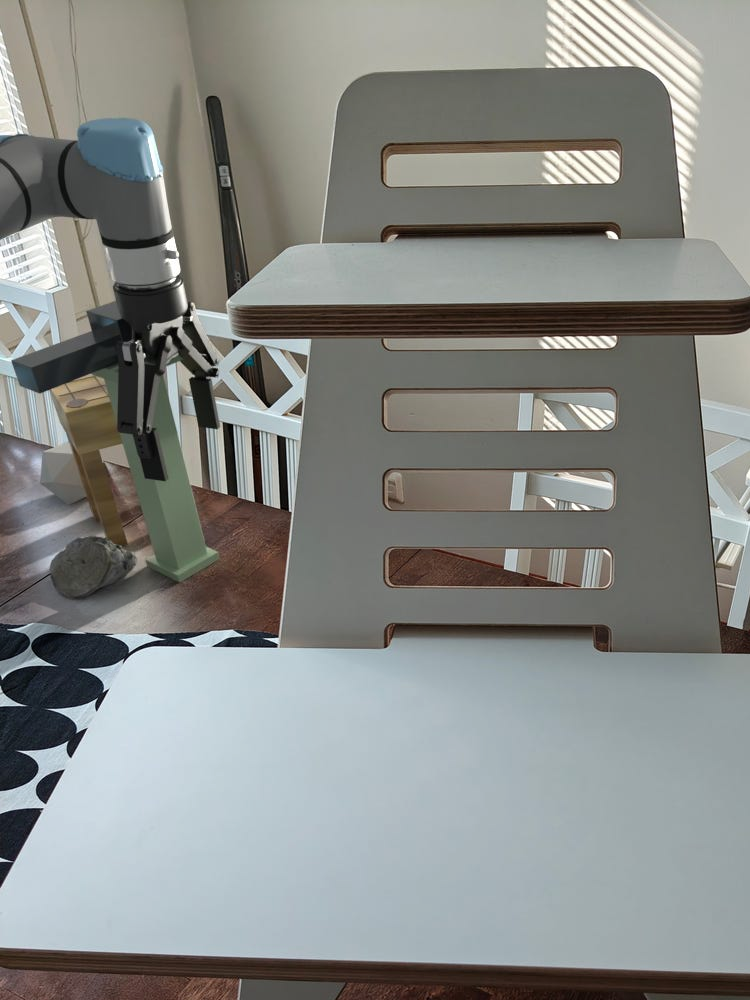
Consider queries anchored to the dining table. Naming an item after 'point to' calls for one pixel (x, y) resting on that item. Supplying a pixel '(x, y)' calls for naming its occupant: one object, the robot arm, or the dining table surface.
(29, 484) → the dining table surface
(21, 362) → the t-shaped mallet
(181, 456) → the shelf stand
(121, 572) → the grey rough chunk
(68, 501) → the die
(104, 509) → the go table
